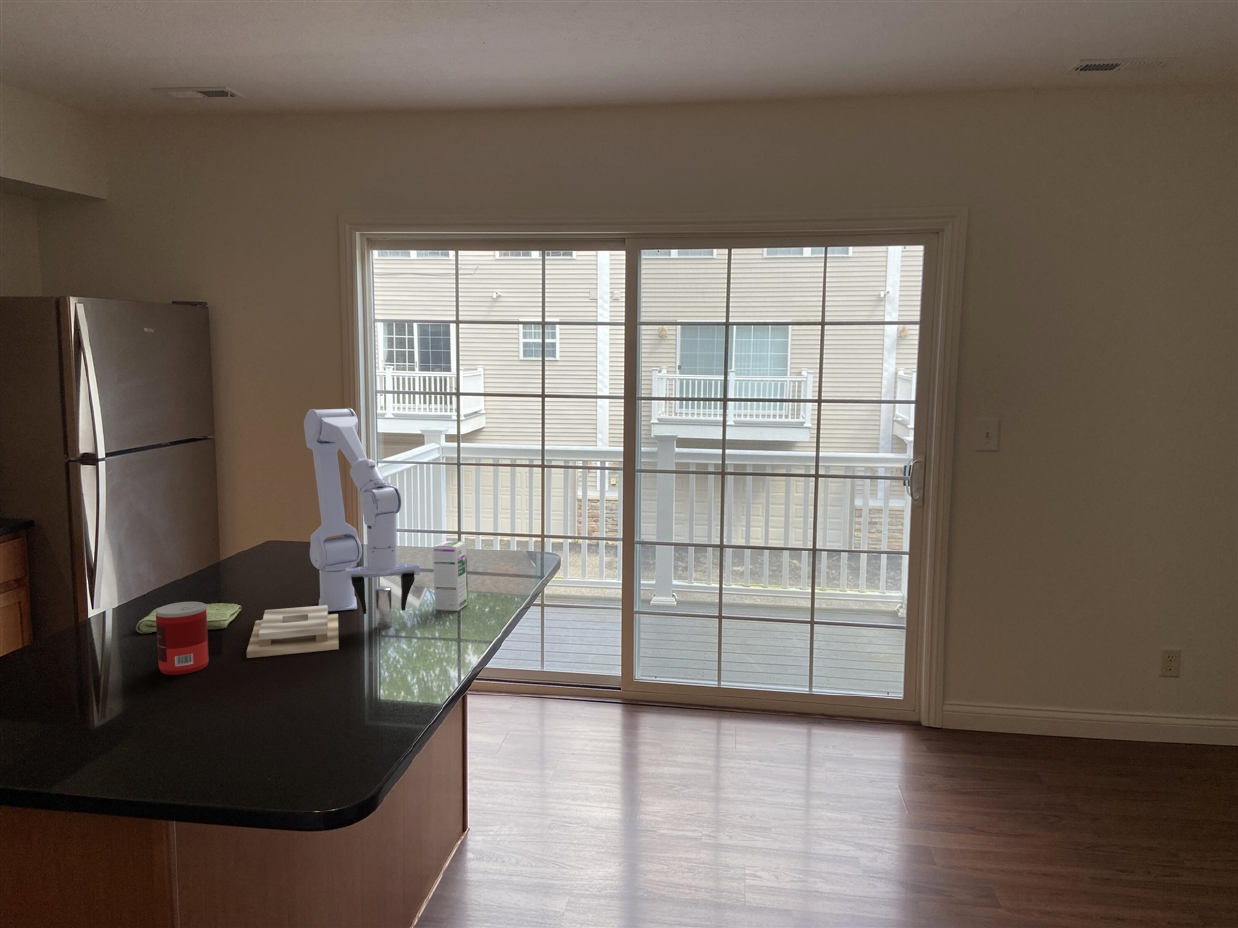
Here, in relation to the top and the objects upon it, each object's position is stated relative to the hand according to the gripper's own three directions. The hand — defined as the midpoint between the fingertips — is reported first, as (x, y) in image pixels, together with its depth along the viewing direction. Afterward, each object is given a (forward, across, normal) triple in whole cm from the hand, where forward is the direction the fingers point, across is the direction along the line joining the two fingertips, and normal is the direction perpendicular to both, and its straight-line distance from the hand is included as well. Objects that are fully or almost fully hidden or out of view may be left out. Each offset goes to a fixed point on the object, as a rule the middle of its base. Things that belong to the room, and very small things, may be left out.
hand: (384, 610), depth 173 cm
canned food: (+3, -35, -14) cm, 38 cm away
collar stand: (+3, -17, -2) cm, 17 cm away
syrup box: (+3, +15, +10) cm, 18 cm away
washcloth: (+4, -38, +15) cm, 41 cm away
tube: (+3, 0, 0) cm, 3 cm away
